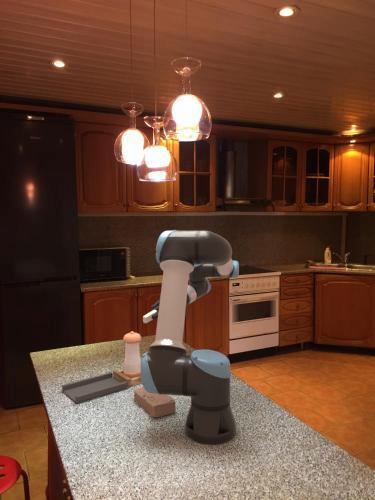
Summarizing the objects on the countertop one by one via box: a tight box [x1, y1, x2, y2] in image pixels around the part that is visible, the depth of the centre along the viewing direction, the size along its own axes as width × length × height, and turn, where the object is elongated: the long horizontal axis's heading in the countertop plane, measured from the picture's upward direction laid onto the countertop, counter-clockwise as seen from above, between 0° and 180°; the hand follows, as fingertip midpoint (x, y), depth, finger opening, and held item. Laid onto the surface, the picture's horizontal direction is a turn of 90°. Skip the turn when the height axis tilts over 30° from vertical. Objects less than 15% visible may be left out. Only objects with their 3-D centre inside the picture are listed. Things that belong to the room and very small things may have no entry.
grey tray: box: [61, 371, 129, 405], centre depth 147 cm, size 20×13×2 cm, turn 129°
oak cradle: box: [112, 369, 142, 388], centre depth 157 cm, size 12×11×3 cm
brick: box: [133, 386, 176, 418], centre depth 134 cm, size 16×8×5 cm, turn 31°
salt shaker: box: [122, 331, 142, 379], centre depth 156 cm, size 7×7×19 cm
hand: (144, 319), depth 155 cm, fingers closed
